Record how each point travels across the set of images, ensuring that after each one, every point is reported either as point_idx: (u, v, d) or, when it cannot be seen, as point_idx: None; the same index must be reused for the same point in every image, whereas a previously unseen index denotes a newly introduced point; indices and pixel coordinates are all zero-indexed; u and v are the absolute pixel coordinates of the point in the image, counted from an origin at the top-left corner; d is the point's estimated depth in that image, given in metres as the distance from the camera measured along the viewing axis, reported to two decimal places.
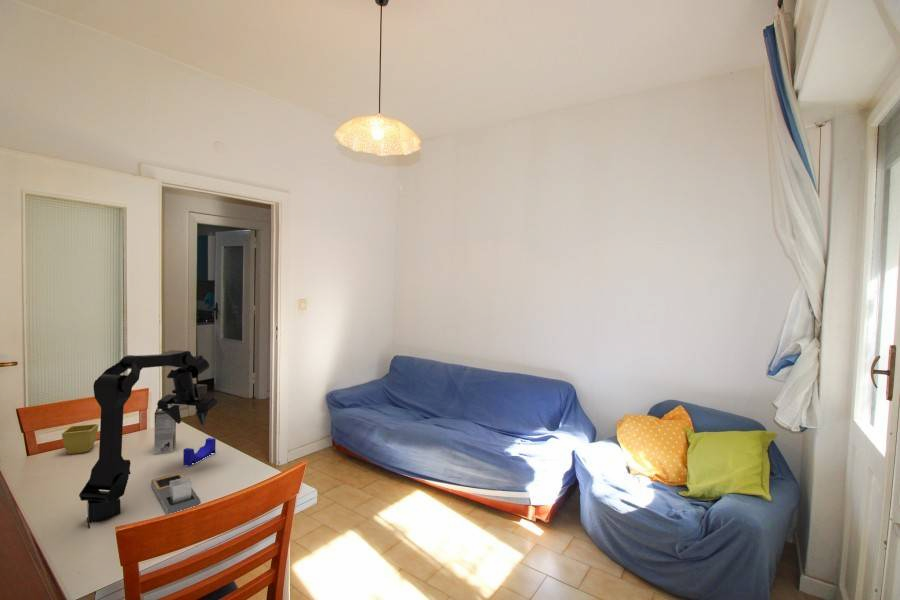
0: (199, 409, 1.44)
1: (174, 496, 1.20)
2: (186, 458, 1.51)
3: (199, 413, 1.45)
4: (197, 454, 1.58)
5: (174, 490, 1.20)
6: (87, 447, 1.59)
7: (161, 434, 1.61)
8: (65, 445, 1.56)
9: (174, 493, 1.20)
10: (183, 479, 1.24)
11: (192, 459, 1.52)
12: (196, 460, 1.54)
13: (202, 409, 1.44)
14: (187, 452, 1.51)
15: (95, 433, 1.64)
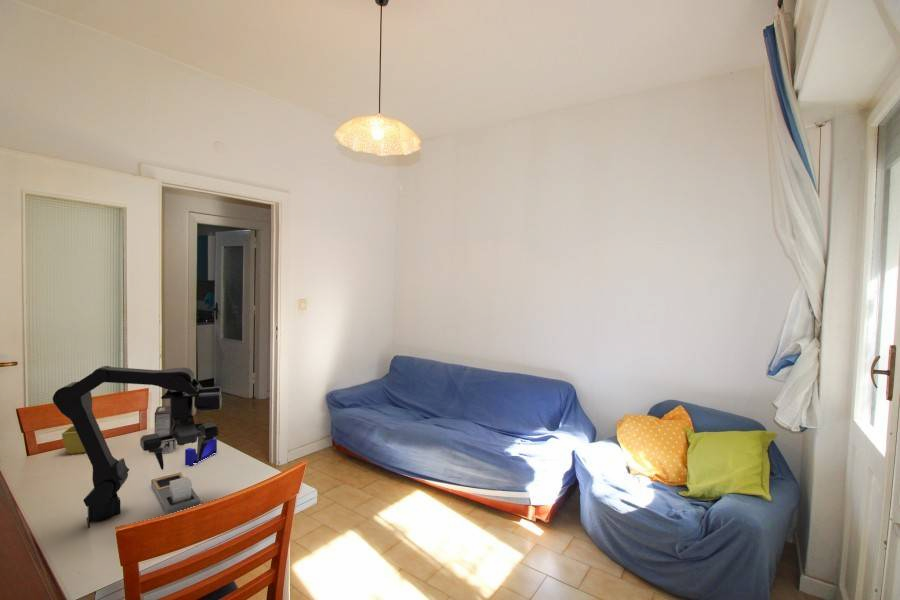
0: None
1: (174, 496, 1.20)
2: (188, 458, 1.51)
3: None
4: None
5: (174, 490, 1.20)
6: None
7: (161, 434, 1.61)
8: (65, 445, 1.56)
9: (174, 493, 1.20)
10: (183, 479, 1.24)
11: (194, 459, 1.52)
12: None
13: None
14: (189, 452, 1.51)
15: None
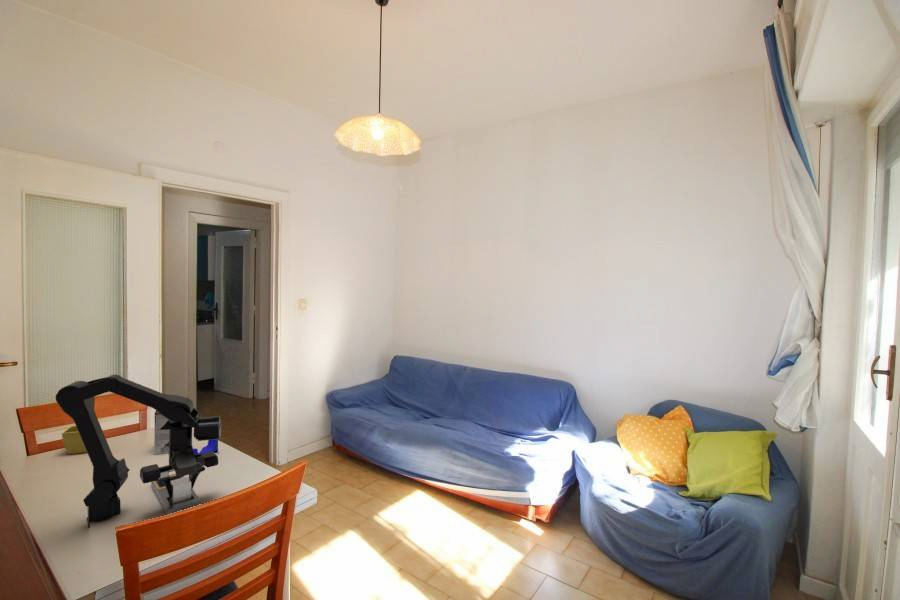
0: None
1: (174, 496, 1.20)
2: None
3: None
4: None
5: (174, 490, 1.20)
6: None
7: (161, 434, 1.61)
8: (65, 445, 1.56)
9: (174, 493, 1.20)
10: (183, 479, 1.24)
11: None
12: None
13: None
14: None
15: None
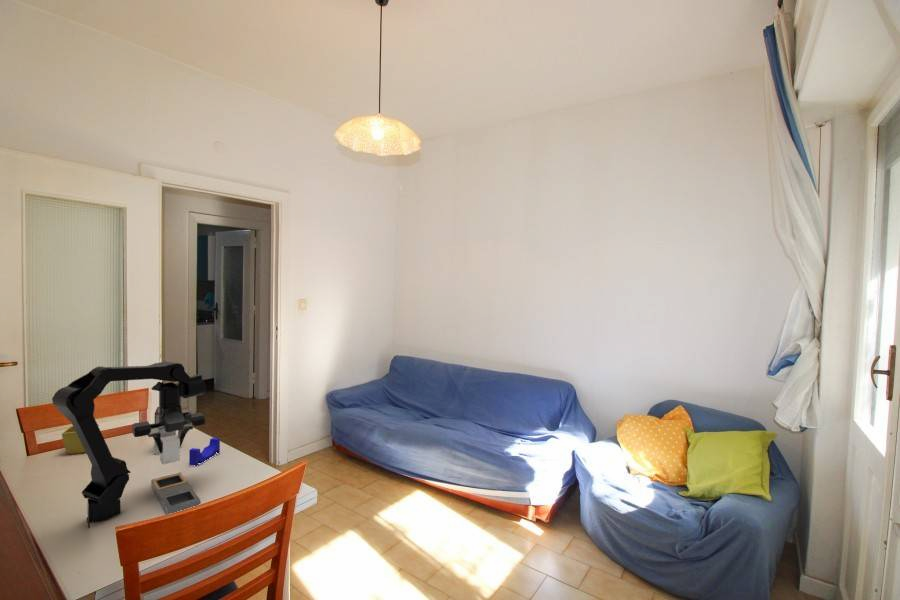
0: None
1: (164, 451, 1.30)
2: (192, 458, 1.51)
3: None
4: (202, 454, 1.58)
5: (164, 445, 1.30)
6: None
7: (161, 434, 1.61)
8: (65, 445, 1.56)
9: (164, 448, 1.30)
10: (173, 437, 1.34)
11: (198, 459, 1.52)
12: (202, 460, 1.54)
13: None
14: (193, 452, 1.51)
15: None
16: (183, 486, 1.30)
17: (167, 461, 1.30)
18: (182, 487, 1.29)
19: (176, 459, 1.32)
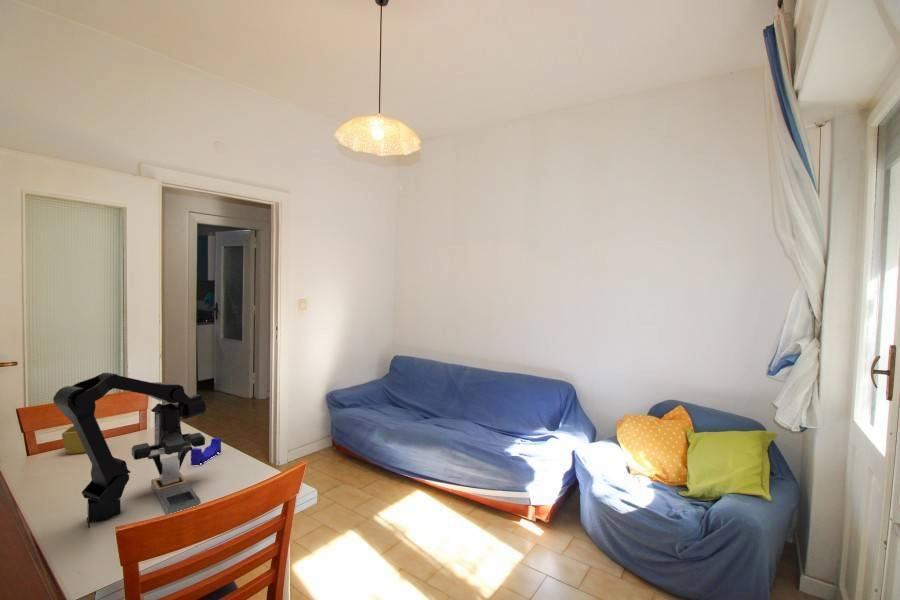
0: None
1: (163, 472, 1.30)
2: (194, 458, 1.51)
3: None
4: (203, 454, 1.58)
5: (163, 467, 1.30)
6: None
7: None
8: (65, 445, 1.56)
9: (163, 470, 1.30)
10: (172, 458, 1.34)
11: (200, 459, 1.52)
12: (203, 460, 1.54)
13: None
14: (195, 452, 1.51)
15: None
16: (183, 486, 1.30)
17: (167, 482, 1.31)
18: (182, 487, 1.29)
19: (176, 480, 1.32)
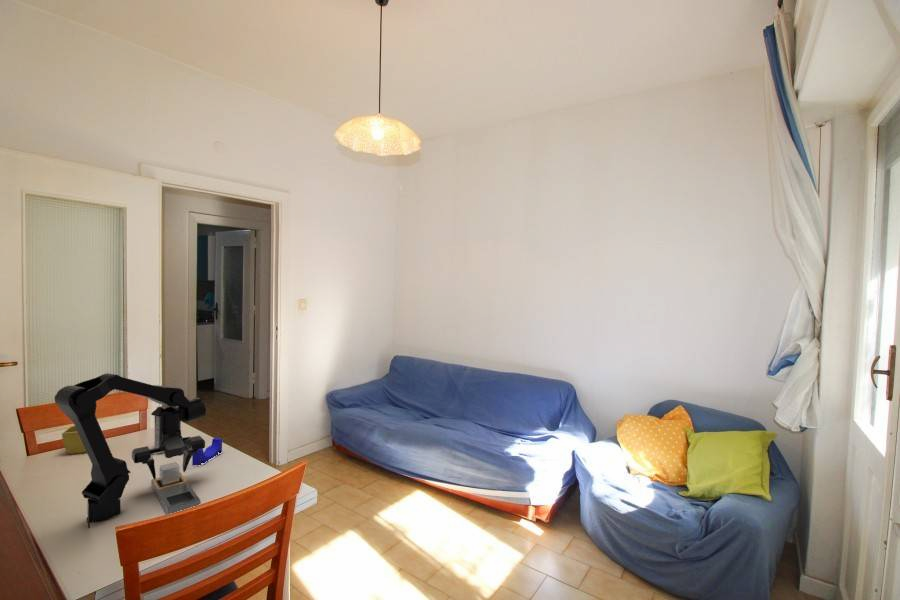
0: None
1: (163, 479, 1.30)
2: (195, 458, 1.51)
3: None
4: (204, 454, 1.58)
5: (163, 473, 1.30)
6: None
7: None
8: (65, 445, 1.56)
9: (163, 476, 1.30)
10: (172, 464, 1.34)
11: (201, 459, 1.52)
12: (205, 460, 1.54)
13: None
14: (196, 452, 1.51)
15: None
16: (183, 486, 1.30)
17: None
18: (182, 487, 1.29)
19: None
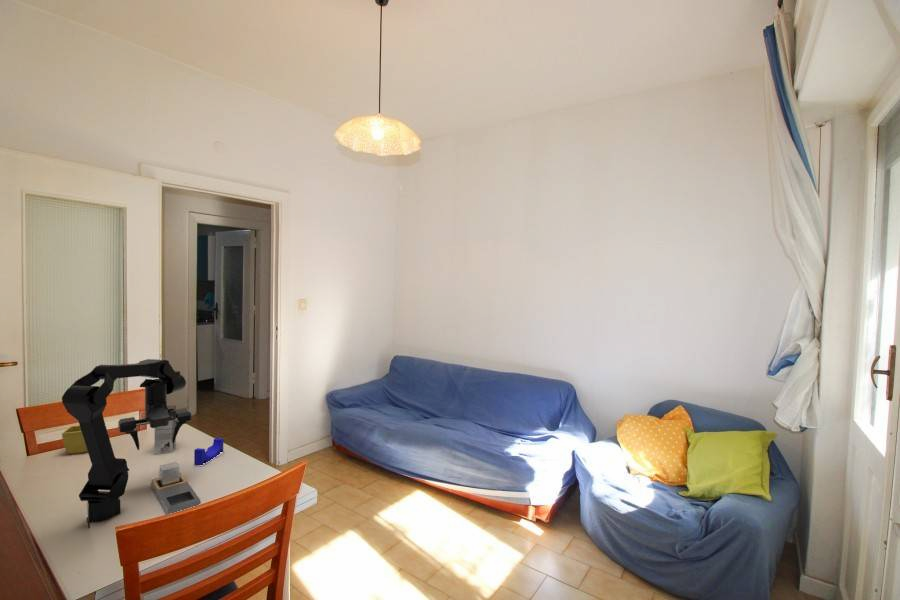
0: None
1: (163, 479, 1.30)
2: (197, 458, 1.51)
3: None
4: (206, 454, 1.58)
5: (163, 473, 1.30)
6: None
7: (161, 434, 1.61)
8: (65, 445, 1.56)
9: (163, 476, 1.30)
10: (172, 464, 1.34)
11: (203, 459, 1.52)
12: (207, 460, 1.54)
13: None
14: (198, 452, 1.51)
15: None
16: (183, 486, 1.30)
17: None
18: (182, 487, 1.29)
19: None
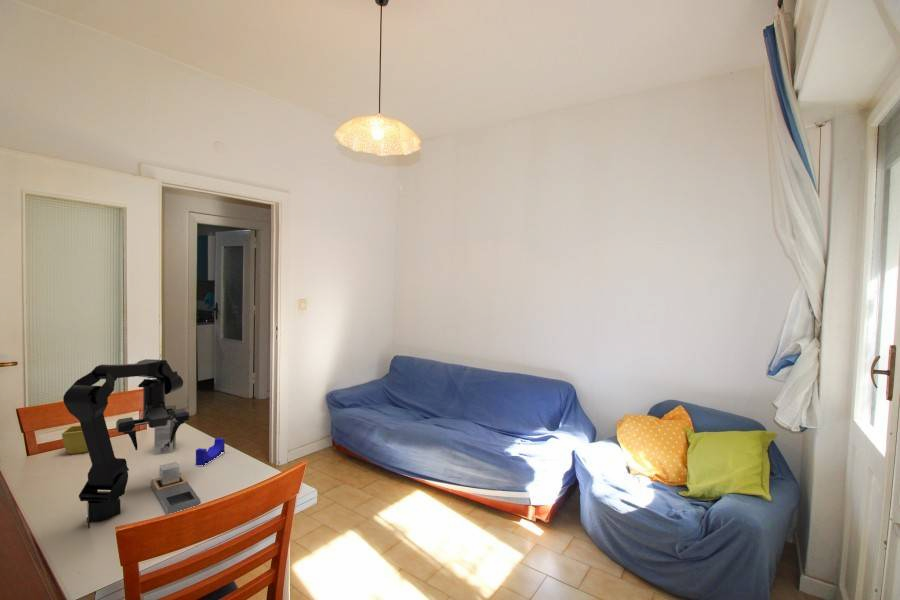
0: None
1: (163, 479, 1.30)
2: (199, 458, 1.51)
3: None
4: (207, 454, 1.58)
5: (163, 473, 1.30)
6: None
7: (161, 434, 1.61)
8: (65, 445, 1.56)
9: (163, 476, 1.30)
10: (172, 464, 1.34)
11: (205, 459, 1.52)
12: (208, 460, 1.54)
13: None
14: (200, 452, 1.51)
15: None
16: (183, 486, 1.30)
17: None
18: (182, 487, 1.29)
19: None
